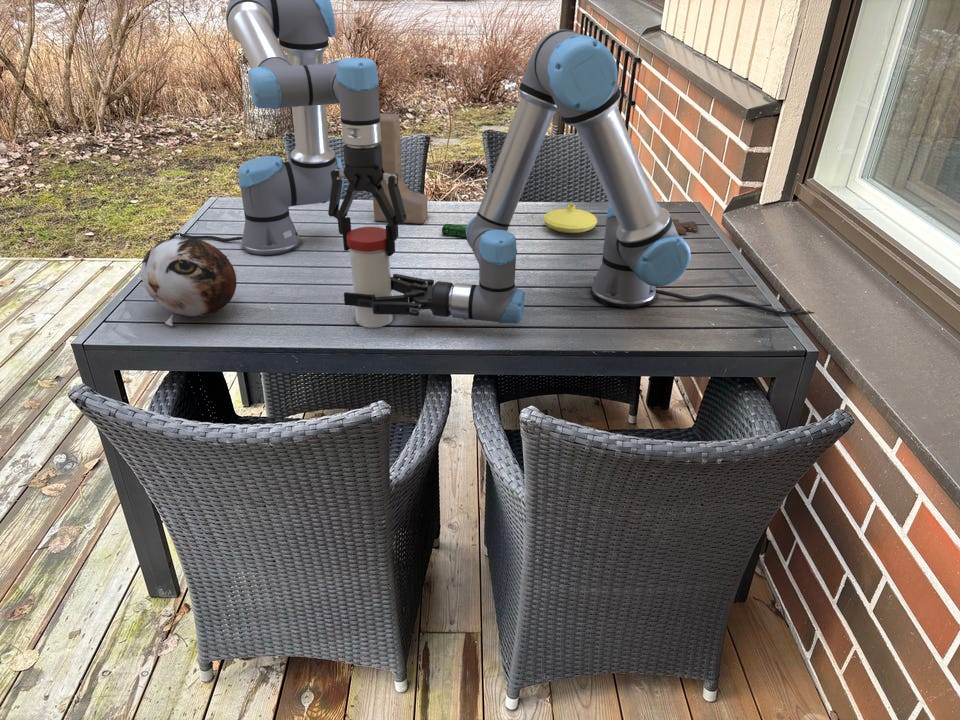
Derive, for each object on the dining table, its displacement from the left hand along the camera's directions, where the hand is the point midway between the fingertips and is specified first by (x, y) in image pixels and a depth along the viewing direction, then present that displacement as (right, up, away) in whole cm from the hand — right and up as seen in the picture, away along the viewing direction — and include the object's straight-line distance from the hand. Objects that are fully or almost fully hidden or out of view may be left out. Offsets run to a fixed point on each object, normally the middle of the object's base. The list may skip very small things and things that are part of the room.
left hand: (369, 251), depth 152 cm
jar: (0, -14, +8) cm, 16 cm away
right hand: (-5, -8, +6) cm, 11 cm away
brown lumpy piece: (+75, +16, +60) cm, 98 cm away
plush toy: (-41, -13, +10) cm, 44 cm away
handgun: (+22, +14, +56) cm, 62 cm away
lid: (0, +3, -2) cm, 3 cm away
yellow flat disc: (+50, +15, +59) cm, 79 cm away
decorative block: (0, +19, +64) cm, 67 cm away
